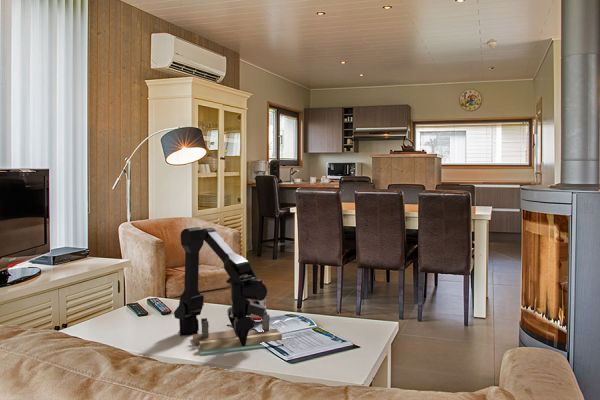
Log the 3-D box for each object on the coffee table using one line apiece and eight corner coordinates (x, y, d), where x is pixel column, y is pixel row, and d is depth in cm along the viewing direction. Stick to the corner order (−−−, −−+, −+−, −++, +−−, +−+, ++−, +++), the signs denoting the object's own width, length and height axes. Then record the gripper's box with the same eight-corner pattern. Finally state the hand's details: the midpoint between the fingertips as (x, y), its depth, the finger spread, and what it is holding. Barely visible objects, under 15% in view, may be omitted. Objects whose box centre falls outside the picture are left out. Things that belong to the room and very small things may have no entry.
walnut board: (195, 345, 184) (194, 341, 184) (193, 338, 192) (192, 334, 191) (279, 335, 192) (279, 331, 192) (274, 329, 200) (273, 325, 200)
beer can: (264, 323, 209) (262, 283, 208) (248, 322, 210) (247, 282, 209) (268, 318, 215) (266, 279, 214) (253, 318, 216) (251, 279, 215)
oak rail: (200, 350, 177) (200, 343, 177) (199, 348, 179) (199, 341, 179) (281, 340, 185) (281, 334, 184) (280, 338, 187) (280, 332, 187)
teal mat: (201, 355, 174) (201, 353, 174) (198, 347, 182) (198, 345, 182) (284, 345, 181) (284, 343, 181) (277, 337, 190) (277, 336, 190)
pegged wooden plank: (203, 339, 186) (202, 322, 186) (201, 335, 191) (201, 318, 190) (270, 331, 193) (269, 315, 193) (267, 327, 197) (266, 311, 197)
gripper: (268, 300, 174) (270, 347, 175) (257, 289, 192) (258, 331, 193) (235, 304, 171) (236, 351, 172) (226, 291, 189) (228, 335, 190)
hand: (241, 341), depth 182 cm, fingers open, 9 cm apart
